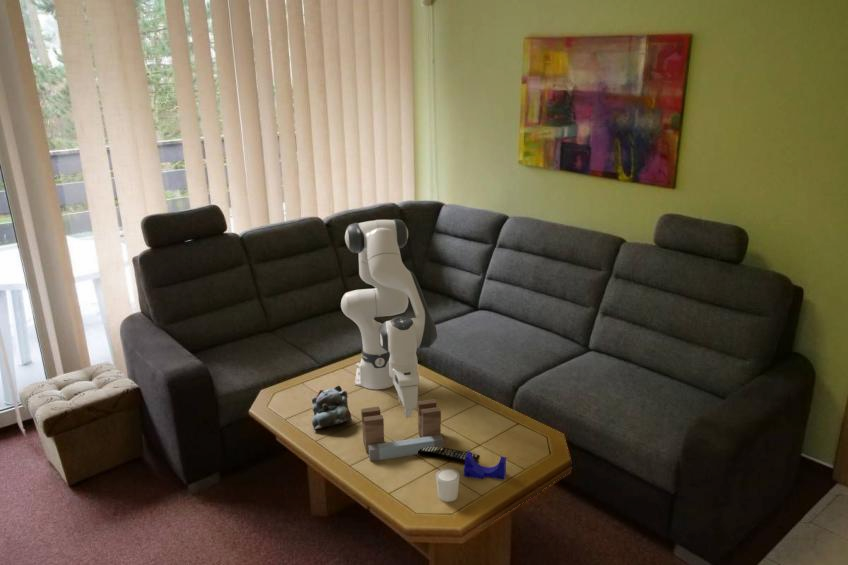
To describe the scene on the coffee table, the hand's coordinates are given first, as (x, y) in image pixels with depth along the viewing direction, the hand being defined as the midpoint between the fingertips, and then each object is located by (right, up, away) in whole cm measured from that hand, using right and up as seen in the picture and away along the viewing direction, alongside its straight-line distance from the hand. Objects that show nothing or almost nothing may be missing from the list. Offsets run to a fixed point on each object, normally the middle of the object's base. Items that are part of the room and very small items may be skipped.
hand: (404, 409), depth 205 cm
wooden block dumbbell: (-1, -13, +12) cm, 18 cm away
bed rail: (0, -15, +5) cm, 16 cm away
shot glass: (+13, -22, -16) cm, 30 cm away
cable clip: (+25, -19, -7) cm, 32 cm away
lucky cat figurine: (-27, -10, +24) cm, 38 cm away
